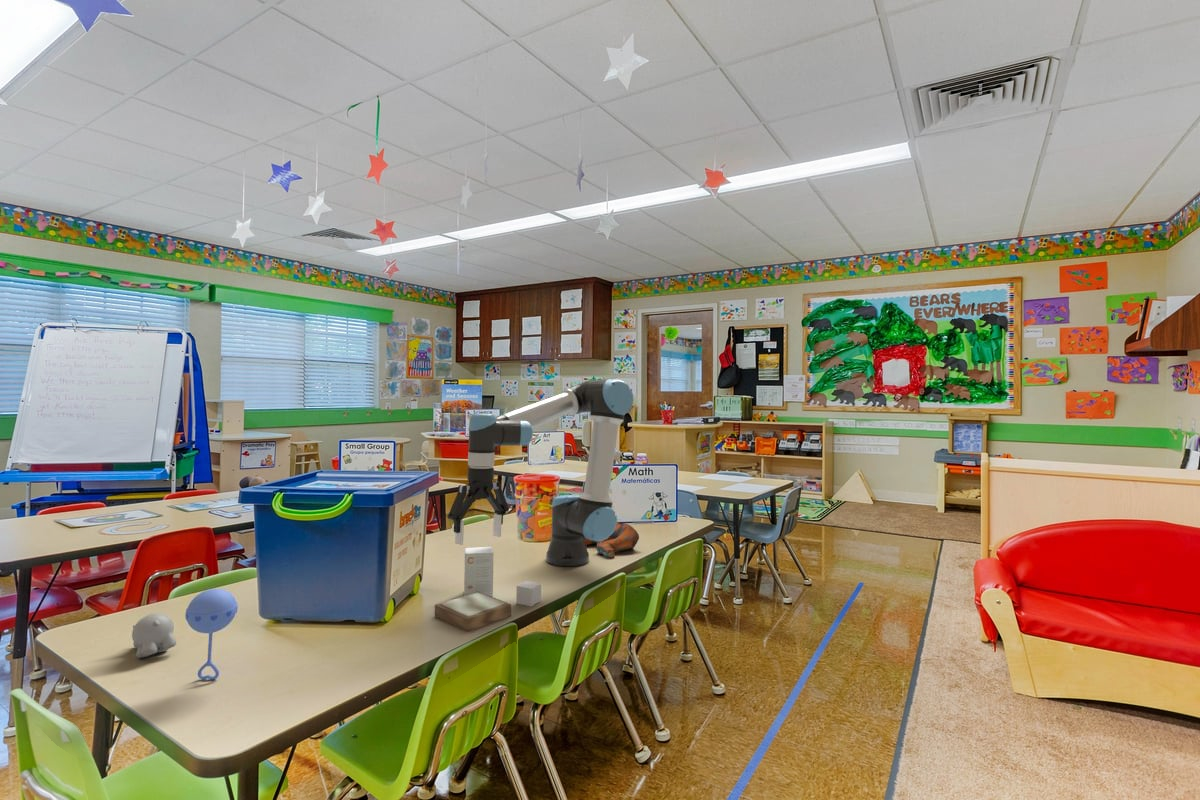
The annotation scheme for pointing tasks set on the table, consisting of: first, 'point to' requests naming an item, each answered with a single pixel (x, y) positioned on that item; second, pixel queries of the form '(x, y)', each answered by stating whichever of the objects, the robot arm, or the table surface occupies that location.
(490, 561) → the small box
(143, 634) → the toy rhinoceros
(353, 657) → the table surface
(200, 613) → the baby rattle
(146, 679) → the table surface
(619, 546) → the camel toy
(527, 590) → the grey cube
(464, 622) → the stand
